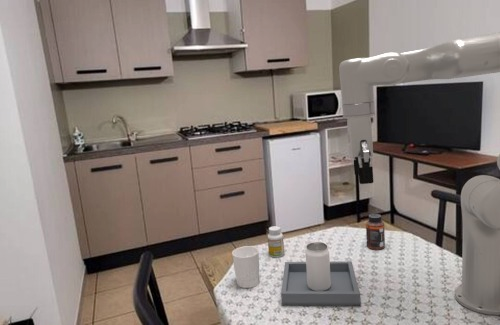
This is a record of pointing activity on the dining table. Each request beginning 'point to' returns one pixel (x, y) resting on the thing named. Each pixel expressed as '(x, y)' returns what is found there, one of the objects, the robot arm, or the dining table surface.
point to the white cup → (246, 266)
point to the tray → (337, 295)
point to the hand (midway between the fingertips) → (363, 178)
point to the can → (318, 266)
